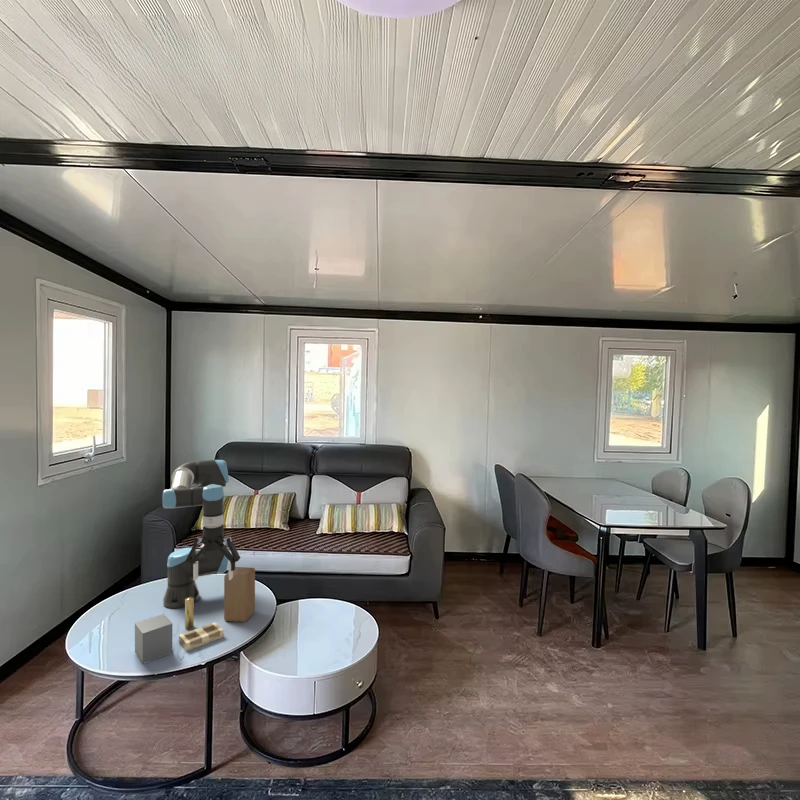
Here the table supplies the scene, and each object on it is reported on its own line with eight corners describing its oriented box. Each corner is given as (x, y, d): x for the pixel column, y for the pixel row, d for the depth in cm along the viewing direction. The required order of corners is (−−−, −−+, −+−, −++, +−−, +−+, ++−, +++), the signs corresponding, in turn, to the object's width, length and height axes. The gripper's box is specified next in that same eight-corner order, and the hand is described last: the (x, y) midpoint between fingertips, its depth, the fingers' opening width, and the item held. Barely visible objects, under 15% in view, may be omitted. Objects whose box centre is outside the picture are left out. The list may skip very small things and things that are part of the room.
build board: (179, 642, 172) (179, 635, 172) (215, 629, 182) (215, 622, 182) (186, 651, 166) (186, 643, 166) (223, 637, 176) (223, 629, 176)
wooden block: (255, 611, 197) (255, 566, 197) (245, 623, 187) (245, 576, 187) (234, 610, 198) (234, 565, 198) (223, 621, 188) (223, 575, 188)
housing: (134, 652, 166) (134, 623, 166) (163, 641, 173) (163, 613, 173) (142, 663, 159) (142, 633, 159) (172, 652, 166) (172, 623, 166)
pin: (183, 627, 183) (183, 598, 183) (191, 624, 186) (191, 596, 185) (186, 630, 181) (186, 601, 181) (194, 627, 183) (194, 598, 183)
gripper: (176, 528, 169) (176, 583, 170) (242, 528, 170) (242, 582, 171) (185, 522, 177) (185, 575, 177) (248, 522, 178) (248, 574, 178)
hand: (213, 578), depth 174 cm, fingers open, 13 cm apart
